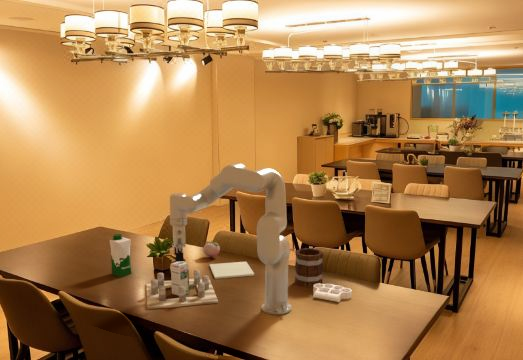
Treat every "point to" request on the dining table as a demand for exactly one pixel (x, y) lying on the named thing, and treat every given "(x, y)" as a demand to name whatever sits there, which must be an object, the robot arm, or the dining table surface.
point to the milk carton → (120, 255)
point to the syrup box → (179, 276)
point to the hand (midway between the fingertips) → (178, 257)
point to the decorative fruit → (211, 249)
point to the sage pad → (231, 270)
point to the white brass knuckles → (331, 292)
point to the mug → (308, 267)
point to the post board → (175, 301)
